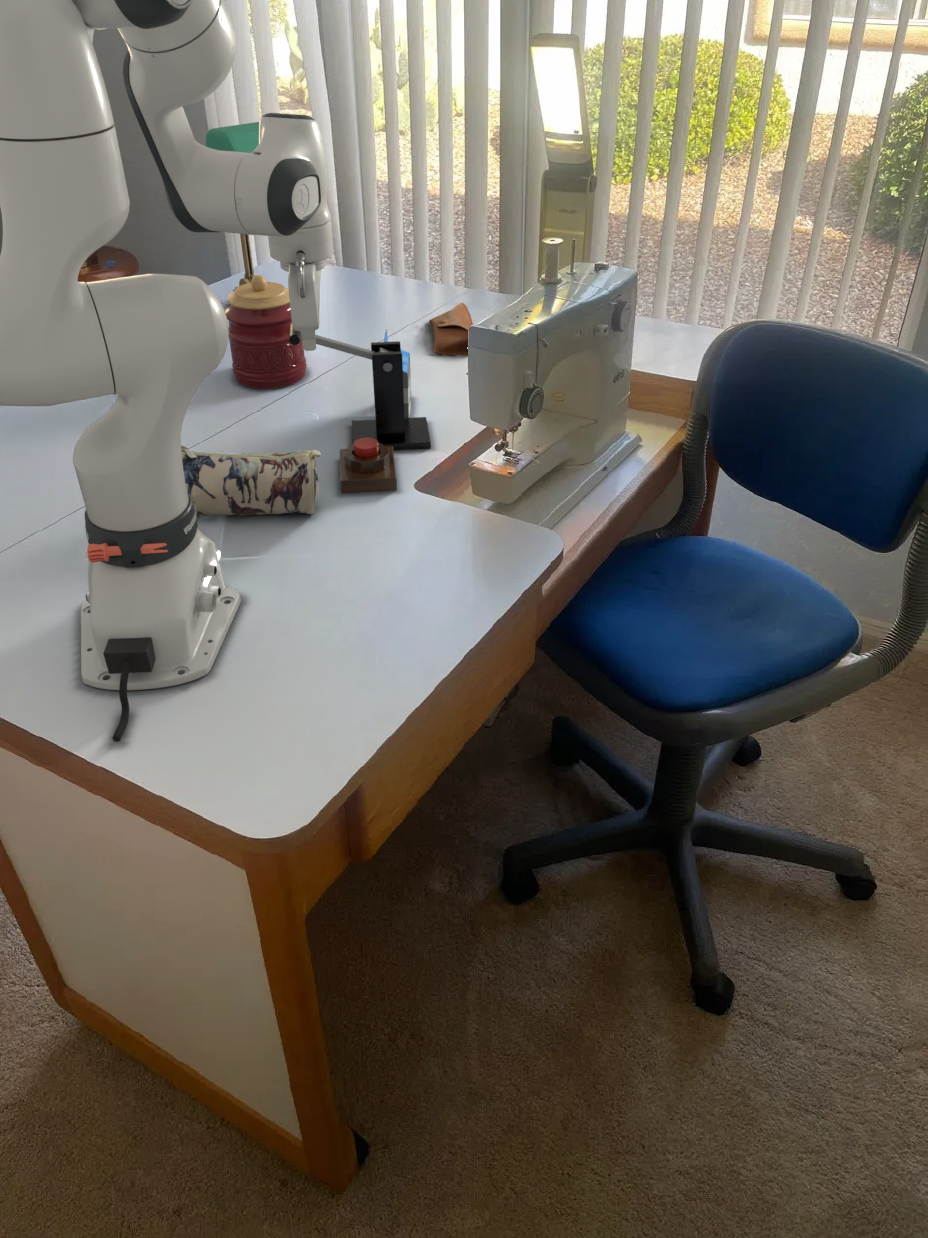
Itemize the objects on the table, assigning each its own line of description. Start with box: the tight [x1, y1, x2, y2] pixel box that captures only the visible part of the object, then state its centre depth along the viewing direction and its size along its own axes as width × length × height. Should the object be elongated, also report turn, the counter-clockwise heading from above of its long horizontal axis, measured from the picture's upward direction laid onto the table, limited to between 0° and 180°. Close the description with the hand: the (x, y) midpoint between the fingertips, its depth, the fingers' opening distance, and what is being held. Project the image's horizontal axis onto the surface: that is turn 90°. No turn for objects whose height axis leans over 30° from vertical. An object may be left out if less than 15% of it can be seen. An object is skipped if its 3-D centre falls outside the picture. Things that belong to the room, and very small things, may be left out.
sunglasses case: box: [428, 302, 474, 356], centre depth 187 cm, size 18×7×7 cm
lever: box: [289, 323, 395, 361], centre depth 144 cm, size 16×5×2 cm, turn 98°
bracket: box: [351, 340, 432, 452], centre depth 149 cm, size 12×9×15 cm
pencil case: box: [181, 444, 322, 516], centre depth 133 cm, size 22×8×10 cm, turn 90°
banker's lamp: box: [205, 121, 260, 306], centre depth 187 cm, size 16×21×35 cm
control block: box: [339, 443, 398, 495], centre depth 143 cm, size 10×8×4 cm
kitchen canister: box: [224, 274, 308, 390], centre depth 168 cm, size 13×13×18 cm
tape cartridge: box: [383, 328, 412, 418], centre depth 158 cm, size 9×4×12 cm, turn 0°
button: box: [354, 438, 379, 459], centre depth 141 cm, size 4×4×2 cm
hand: (310, 338), depth 143 cm, fingers open, 6 cm apart
